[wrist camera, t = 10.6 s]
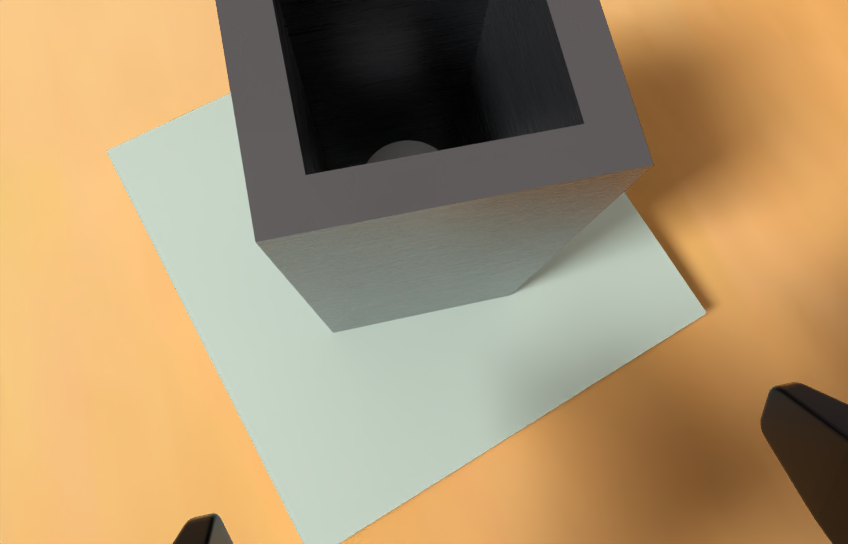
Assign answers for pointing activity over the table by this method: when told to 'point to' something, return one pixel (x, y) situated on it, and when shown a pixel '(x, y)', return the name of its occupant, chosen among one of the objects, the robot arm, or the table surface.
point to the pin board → (384, 335)
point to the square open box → (429, 123)
